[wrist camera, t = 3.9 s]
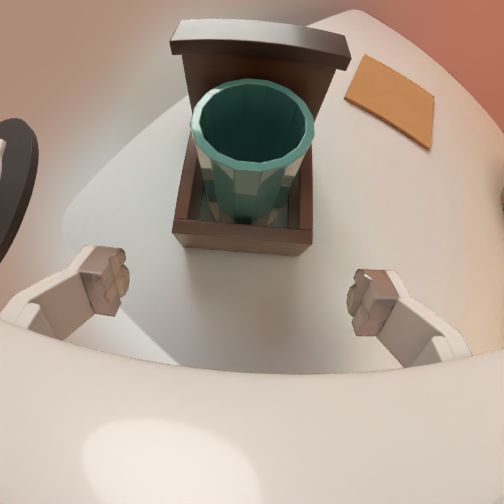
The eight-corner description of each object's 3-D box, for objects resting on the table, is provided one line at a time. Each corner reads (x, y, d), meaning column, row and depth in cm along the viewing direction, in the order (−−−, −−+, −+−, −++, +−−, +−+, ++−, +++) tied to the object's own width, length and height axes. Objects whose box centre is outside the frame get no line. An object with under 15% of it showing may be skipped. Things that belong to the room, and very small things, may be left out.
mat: (343, 98, 27) (345, 96, 27) (363, 56, 29) (364, 53, 29) (428, 150, 27) (430, 148, 26) (432, 98, 29) (434, 96, 29)
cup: (195, 212, 23) (166, 140, 12) (230, 155, 25) (229, 66, 14) (262, 246, 23) (285, 193, 12) (293, 184, 24) (329, 106, 14)
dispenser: (302, 256, 23) (377, 197, 10) (178, 246, 23) (117, 175, 10) (303, 139, 25) (345, 35, 12) (198, 130, 25) (180, 19, 12)
